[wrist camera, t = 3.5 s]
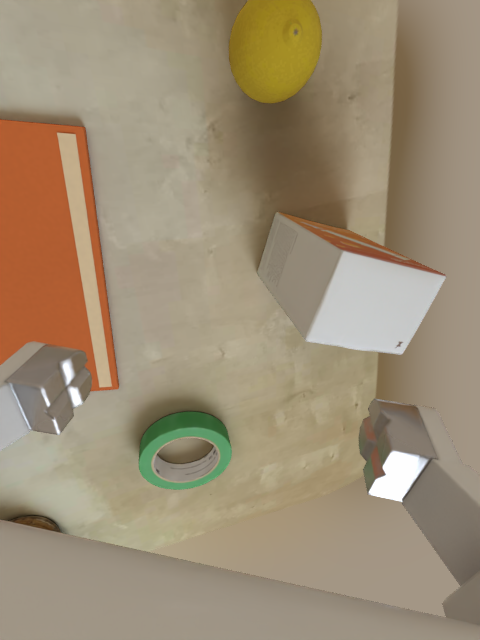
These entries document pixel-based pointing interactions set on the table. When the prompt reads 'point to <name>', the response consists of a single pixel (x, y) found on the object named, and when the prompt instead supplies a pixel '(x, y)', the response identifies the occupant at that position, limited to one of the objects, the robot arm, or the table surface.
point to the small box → (345, 286)
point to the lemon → (274, 48)
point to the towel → (52, 247)
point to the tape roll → (178, 429)
